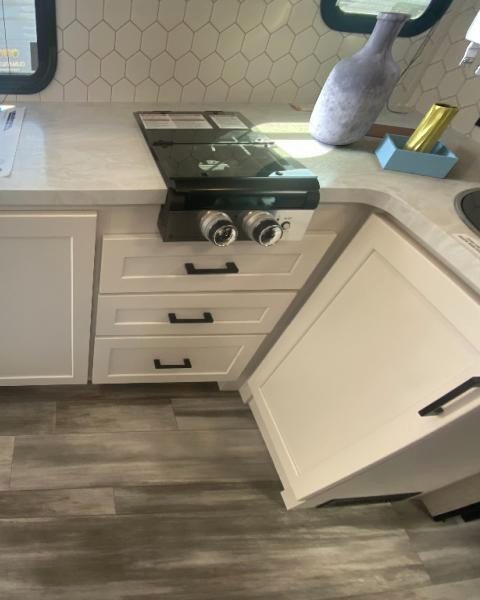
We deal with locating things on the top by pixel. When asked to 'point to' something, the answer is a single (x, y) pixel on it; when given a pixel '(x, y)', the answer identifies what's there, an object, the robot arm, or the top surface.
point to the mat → (388, 130)
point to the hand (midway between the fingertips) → (470, 70)
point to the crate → (414, 157)
